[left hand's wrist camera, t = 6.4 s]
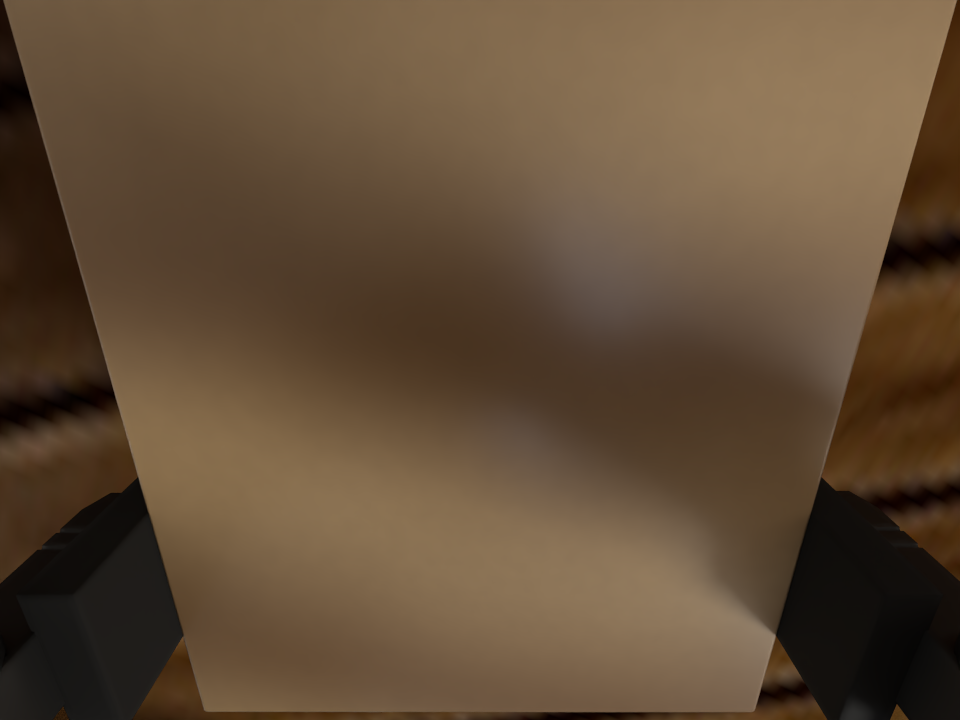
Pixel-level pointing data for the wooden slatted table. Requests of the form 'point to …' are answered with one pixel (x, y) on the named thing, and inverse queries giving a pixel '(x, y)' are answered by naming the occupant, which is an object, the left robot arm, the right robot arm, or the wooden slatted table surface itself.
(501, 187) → the cabinet
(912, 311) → the wooden slatted table surface
